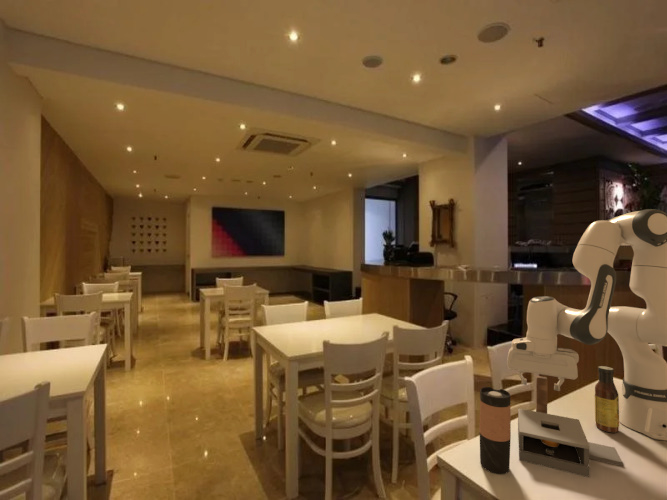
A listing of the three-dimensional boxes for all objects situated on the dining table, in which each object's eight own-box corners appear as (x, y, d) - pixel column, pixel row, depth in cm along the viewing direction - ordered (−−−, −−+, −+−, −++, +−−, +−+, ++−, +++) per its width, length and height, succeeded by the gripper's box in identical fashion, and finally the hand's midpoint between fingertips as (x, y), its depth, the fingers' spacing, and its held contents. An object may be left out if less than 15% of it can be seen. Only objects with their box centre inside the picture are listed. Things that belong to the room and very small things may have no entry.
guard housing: (578, 446, 104) (578, 419, 104) (589, 477, 90) (589, 446, 90) (518, 433, 111) (518, 408, 111) (519, 460, 97) (519, 431, 97)
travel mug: (493, 477, 90) (493, 399, 90) (473, 460, 97) (473, 388, 97) (517, 472, 92) (517, 396, 92) (495, 455, 99) (496, 385, 99)
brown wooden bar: (546, 424, 117) (546, 377, 117) (547, 428, 114) (547, 380, 114) (535, 422, 118) (536, 375, 118) (536, 426, 116) (536, 378, 116)
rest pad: (614, 450, 102) (614, 447, 102) (622, 466, 95) (622, 462, 95) (581, 443, 106) (581, 440, 106) (586, 457, 98) (586, 454, 98)
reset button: (558, 440, 102) (558, 432, 102) (560, 448, 98) (560, 439, 98) (540, 437, 104) (540, 428, 104) (541, 444, 100) (541, 435, 100)
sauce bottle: (623, 434, 111) (623, 372, 111) (601, 432, 112) (601, 370, 112) (611, 424, 117) (611, 365, 117) (590, 422, 119) (591, 364, 119)
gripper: (577, 347, 114) (576, 390, 114) (507, 339, 124) (506, 378, 124) (580, 352, 109) (579, 397, 109) (507, 343, 118) (506, 384, 118)
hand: (540, 387), depth 116 cm, fingers open, 8 cm apart
